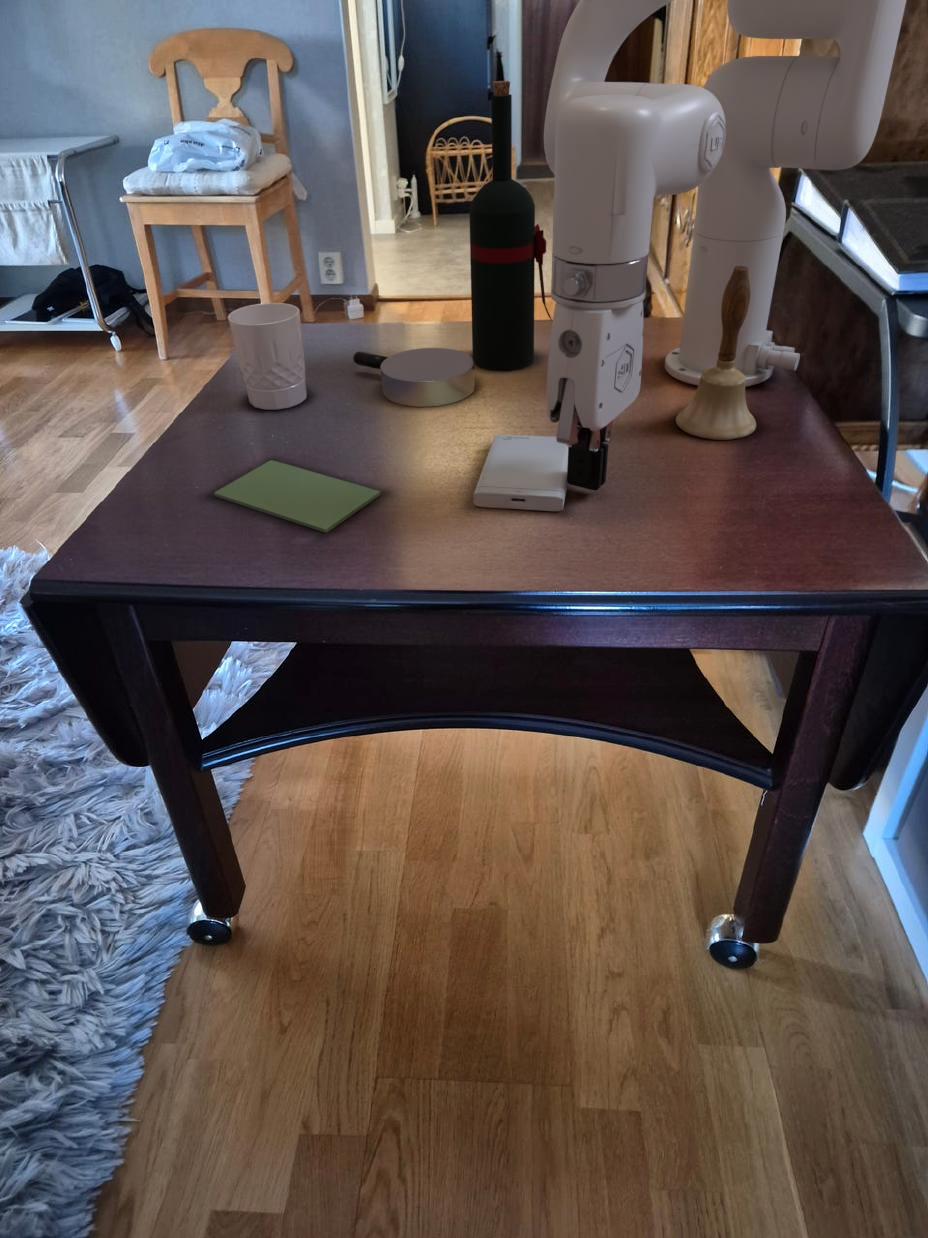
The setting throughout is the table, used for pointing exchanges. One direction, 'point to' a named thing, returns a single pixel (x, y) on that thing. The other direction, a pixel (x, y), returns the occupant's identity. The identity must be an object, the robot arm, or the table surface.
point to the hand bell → (723, 375)
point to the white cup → (270, 354)
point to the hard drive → (524, 474)
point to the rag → (298, 495)
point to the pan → (423, 375)
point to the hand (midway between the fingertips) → (586, 483)
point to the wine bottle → (503, 255)
